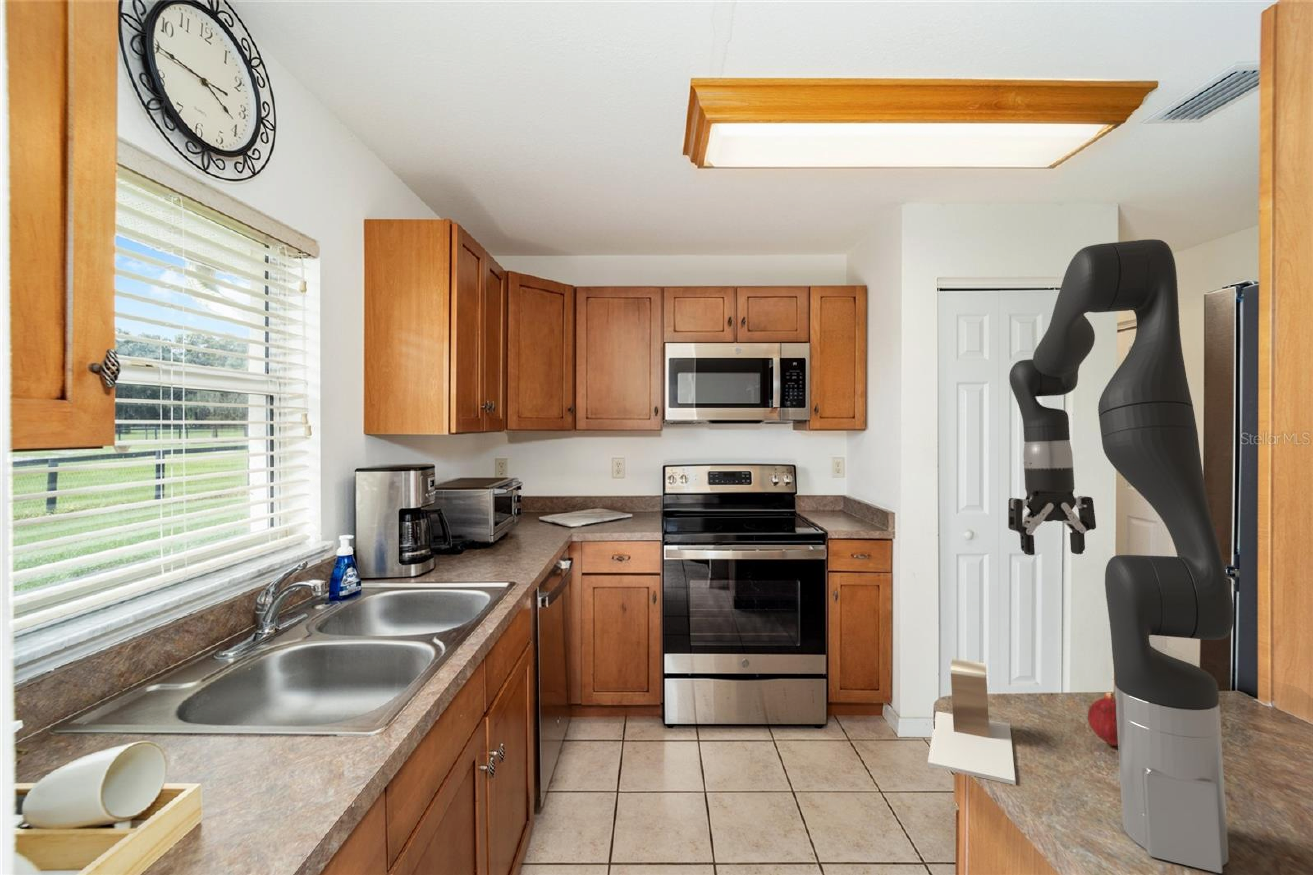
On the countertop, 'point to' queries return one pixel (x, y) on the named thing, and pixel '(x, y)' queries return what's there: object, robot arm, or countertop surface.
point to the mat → (972, 750)
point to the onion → (1104, 719)
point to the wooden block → (969, 698)
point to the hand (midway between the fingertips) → (1053, 554)
